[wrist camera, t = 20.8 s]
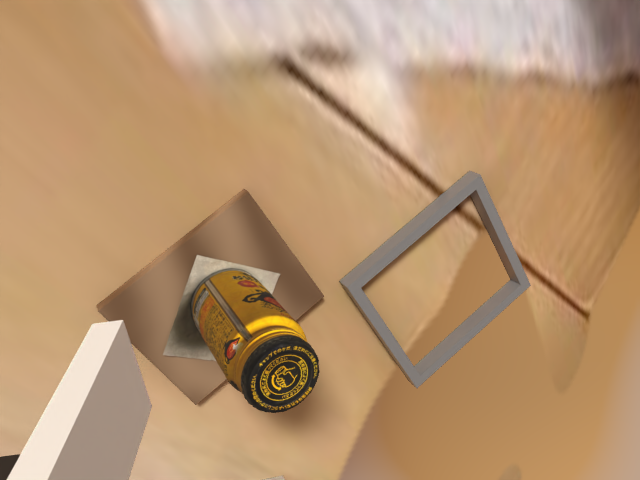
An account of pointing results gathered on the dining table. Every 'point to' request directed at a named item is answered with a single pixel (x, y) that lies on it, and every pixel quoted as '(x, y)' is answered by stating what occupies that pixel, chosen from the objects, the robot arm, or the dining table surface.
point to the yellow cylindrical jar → (244, 334)
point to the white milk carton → (276, 478)
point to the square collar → (404, 239)
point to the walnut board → (172, 276)
